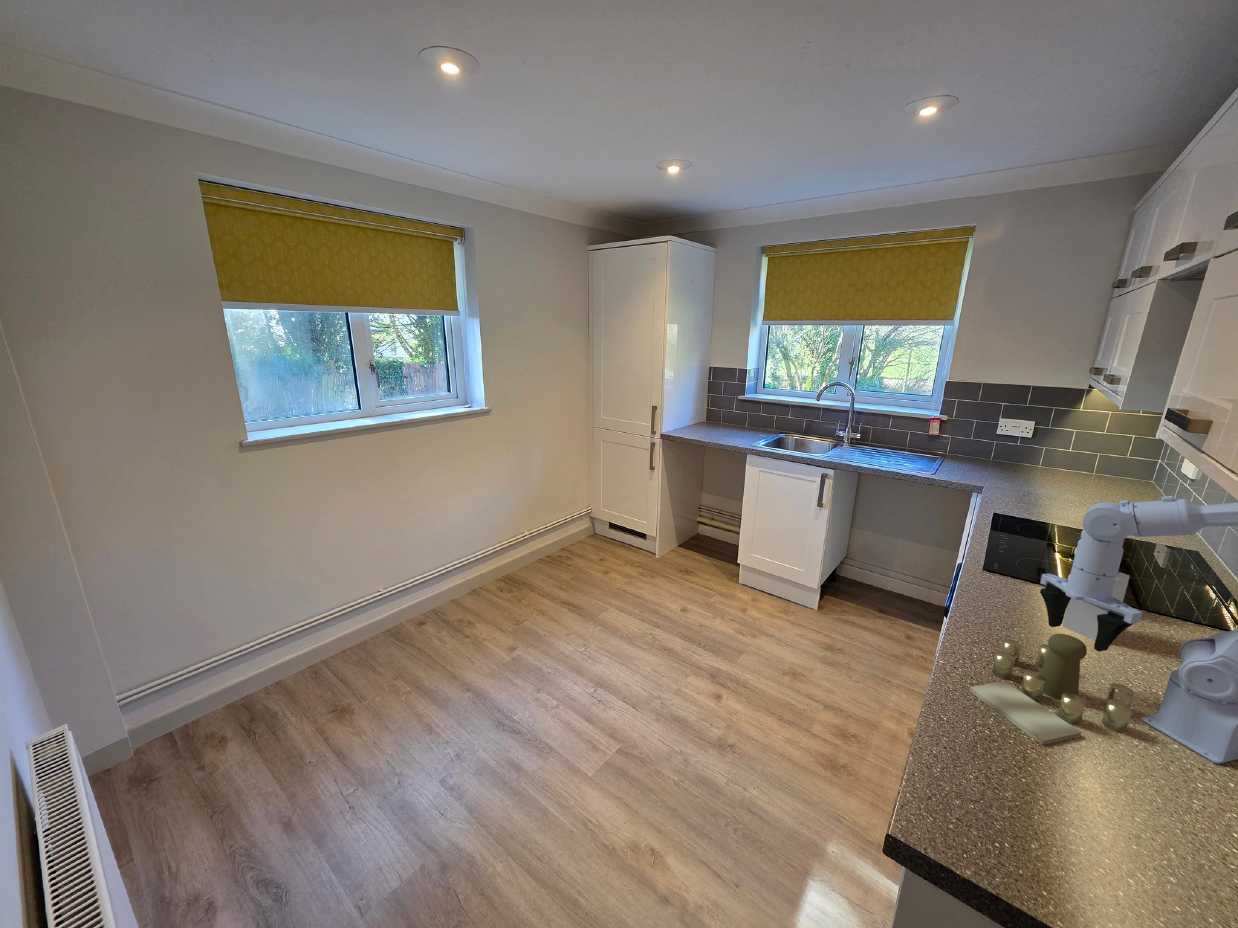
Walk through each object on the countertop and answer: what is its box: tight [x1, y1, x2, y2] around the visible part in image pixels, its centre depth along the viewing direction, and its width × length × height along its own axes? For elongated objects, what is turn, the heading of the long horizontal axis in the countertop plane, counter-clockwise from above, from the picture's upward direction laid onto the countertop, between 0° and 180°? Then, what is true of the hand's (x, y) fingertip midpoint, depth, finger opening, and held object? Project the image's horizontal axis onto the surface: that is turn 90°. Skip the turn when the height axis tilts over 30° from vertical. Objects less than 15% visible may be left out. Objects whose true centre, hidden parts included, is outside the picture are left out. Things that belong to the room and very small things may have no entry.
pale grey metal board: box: [968, 680, 1082, 746], centre depth 85 cm, size 13×8×1 cm, turn 13°
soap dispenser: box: [1061, 535, 1131, 641], centre depth 108 cm, size 6×9×22 cm
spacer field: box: [991, 638, 1135, 734], centre depth 90 cm, size 21×14×4 cm
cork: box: [1038, 633, 1088, 701], centre depth 89 cm, size 6×6×11 cm
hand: (1076, 637), depth 89 cm, fingers open, 7 cm apart
